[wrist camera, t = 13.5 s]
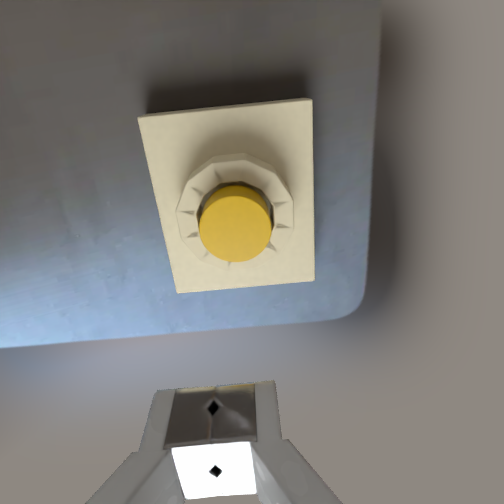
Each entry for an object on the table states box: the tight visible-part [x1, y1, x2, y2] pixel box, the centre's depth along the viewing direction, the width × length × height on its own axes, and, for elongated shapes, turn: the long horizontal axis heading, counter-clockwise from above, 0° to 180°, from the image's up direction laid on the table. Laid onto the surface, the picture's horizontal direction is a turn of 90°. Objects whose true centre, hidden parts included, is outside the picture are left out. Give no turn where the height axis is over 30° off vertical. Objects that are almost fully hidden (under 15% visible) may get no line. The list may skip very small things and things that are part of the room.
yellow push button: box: [199, 185, 272, 262], centre depth 20 cm, size 4×4×2 cm
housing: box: [138, 98, 315, 293], centre depth 22 cm, size 12×10×4 cm
